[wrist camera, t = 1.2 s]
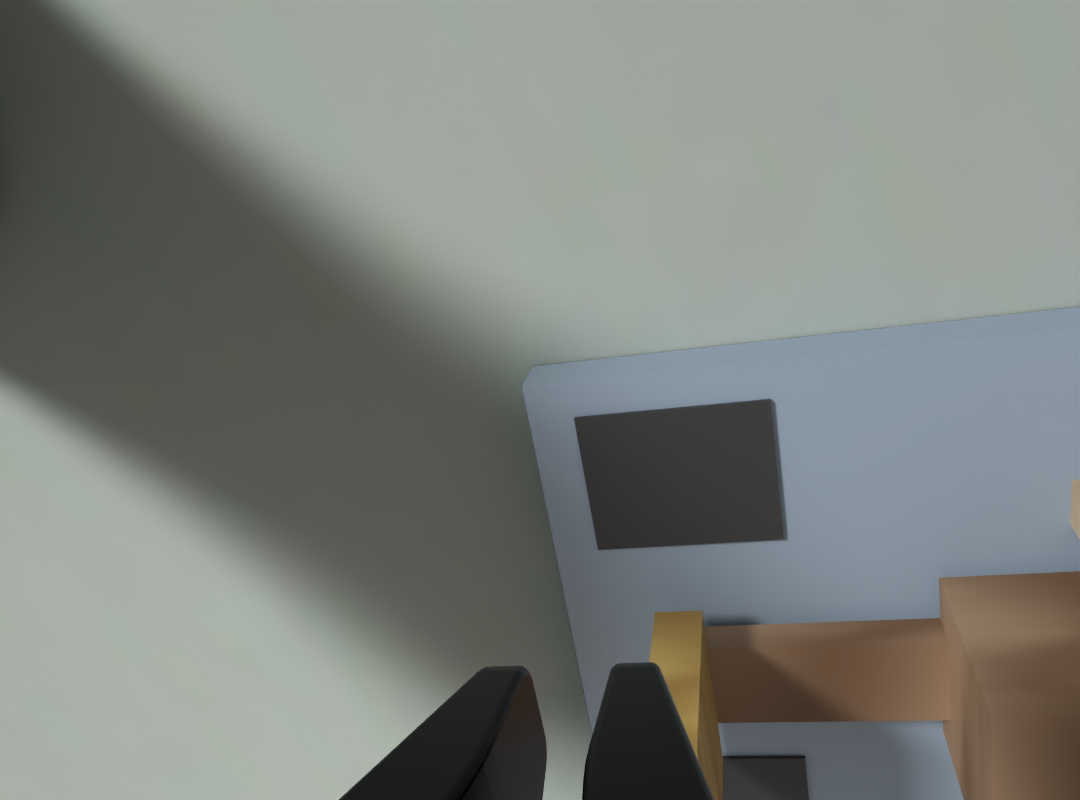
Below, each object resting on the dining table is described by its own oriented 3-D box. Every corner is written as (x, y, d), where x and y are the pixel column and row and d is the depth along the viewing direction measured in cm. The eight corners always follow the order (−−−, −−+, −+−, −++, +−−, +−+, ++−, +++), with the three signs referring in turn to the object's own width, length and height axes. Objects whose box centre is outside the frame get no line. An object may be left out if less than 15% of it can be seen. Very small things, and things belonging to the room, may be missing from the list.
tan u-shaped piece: (1159, 567, 18) (1299, 749, 13) (1146, 729, 19) (1269, 940, 15) (657, 590, 20) (638, 751, 16) (679, 732, 21) (668, 916, 17)
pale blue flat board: (1675, 242, 15) (1754, 262, 14) (1506, 852, 20) (1553, 903, 19) (532, 366, 20) (520, 388, 19) (625, 835, 25) (620, 876, 24)
